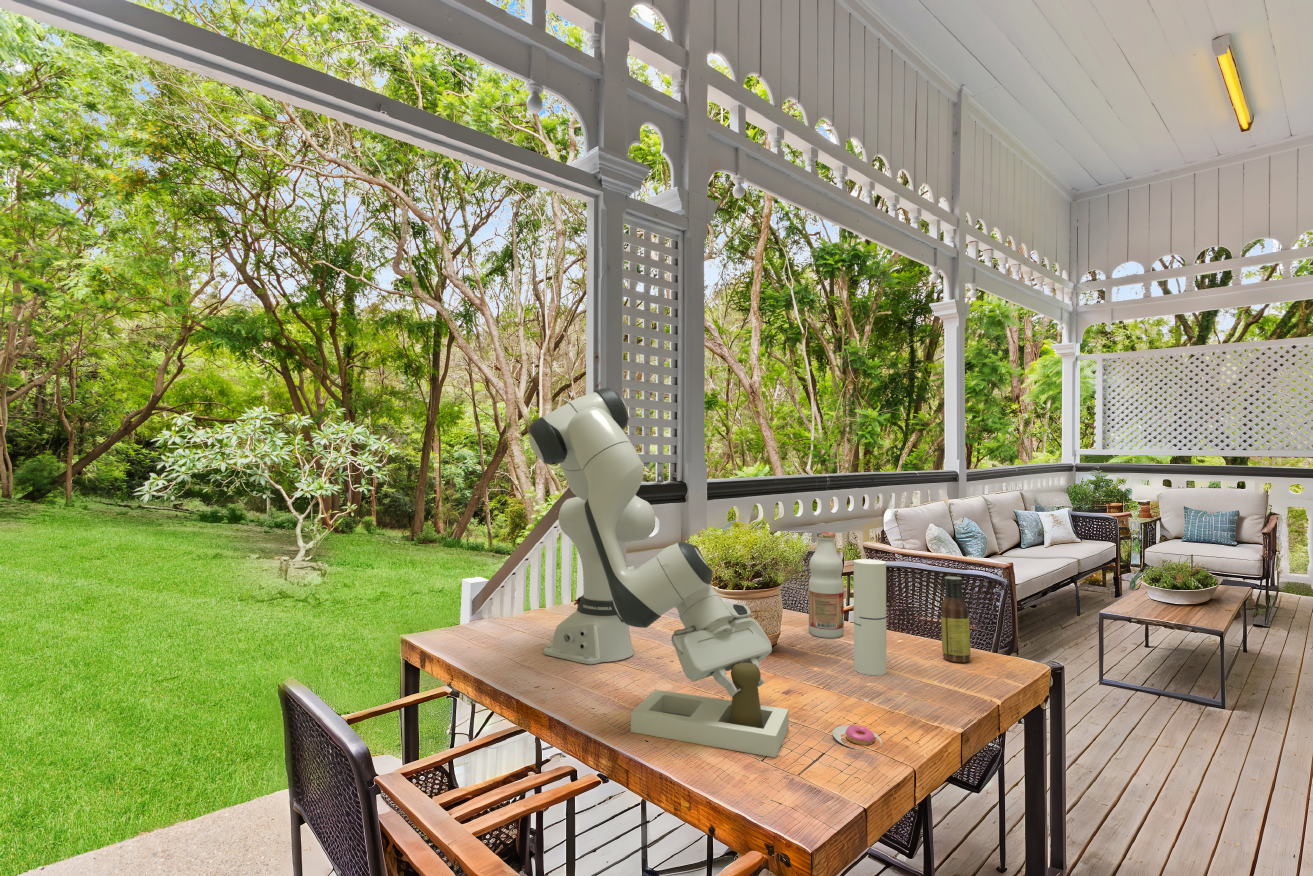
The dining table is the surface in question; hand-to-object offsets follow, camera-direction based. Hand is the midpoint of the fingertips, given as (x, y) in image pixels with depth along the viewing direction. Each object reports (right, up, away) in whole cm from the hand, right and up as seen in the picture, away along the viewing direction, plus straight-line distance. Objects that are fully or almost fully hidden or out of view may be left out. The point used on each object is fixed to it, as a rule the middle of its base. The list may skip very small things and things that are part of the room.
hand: (748, 689), depth 114 cm
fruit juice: (+31, -10, +65) cm, 73 cm away
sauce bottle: (+57, -10, +43) cm, 72 cm away
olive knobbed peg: (0, -7, 0) cm, 7 cm away
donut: (+18, -9, 0) cm, 20 cm away
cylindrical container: (+33, -9, +35) cm, 49 cm away
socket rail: (-7, -8, +3) cm, 11 cm away
